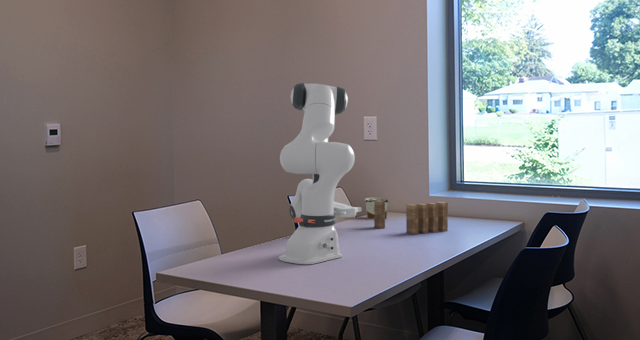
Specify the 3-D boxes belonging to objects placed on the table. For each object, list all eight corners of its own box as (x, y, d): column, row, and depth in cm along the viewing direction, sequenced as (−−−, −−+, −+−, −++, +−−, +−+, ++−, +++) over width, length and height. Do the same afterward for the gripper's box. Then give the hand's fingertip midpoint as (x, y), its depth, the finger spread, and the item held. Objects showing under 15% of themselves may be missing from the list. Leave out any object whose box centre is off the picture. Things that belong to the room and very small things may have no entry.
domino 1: (380, 228, 233) (380, 201, 232) (374, 227, 237) (374, 200, 237) (384, 228, 234) (384, 201, 233) (379, 226, 238) (378, 200, 238)
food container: (389, 217, 265) (389, 197, 264) (389, 219, 259) (389, 198, 258) (364, 217, 266) (364, 197, 266) (364, 219, 260) (364, 198, 260)
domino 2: (413, 234, 218) (413, 205, 218) (406, 232, 223) (406, 204, 222) (418, 234, 219) (418, 205, 219) (411, 232, 224) (411, 204, 223)
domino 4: (433, 232, 223) (433, 204, 222) (426, 230, 227) (426, 202, 226) (438, 232, 224) (438, 203, 223) (430, 230, 228) (430, 202, 227)
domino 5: (443, 231, 225) (443, 203, 224) (435, 229, 229) (435, 202, 228) (447, 231, 226) (447, 203, 225) (440, 229, 230) (440, 201, 229)
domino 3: (423, 233, 221) (423, 204, 220) (416, 231, 225) (416, 203, 224) (428, 233, 222) (428, 204, 221) (421, 231, 226) (421, 203, 225)
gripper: (337, 206, 215) (367, 203, 221) (316, 199, 234) (344, 197, 239) (337, 221, 216) (367, 218, 221) (317, 213, 234) (345, 211, 240)
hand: (355, 207), depth 230 cm, fingers open, 8 cm apart
